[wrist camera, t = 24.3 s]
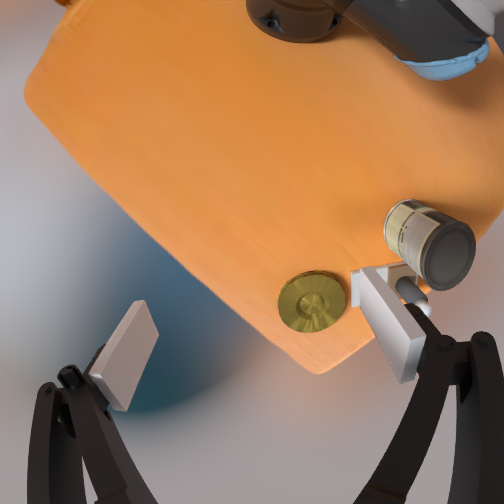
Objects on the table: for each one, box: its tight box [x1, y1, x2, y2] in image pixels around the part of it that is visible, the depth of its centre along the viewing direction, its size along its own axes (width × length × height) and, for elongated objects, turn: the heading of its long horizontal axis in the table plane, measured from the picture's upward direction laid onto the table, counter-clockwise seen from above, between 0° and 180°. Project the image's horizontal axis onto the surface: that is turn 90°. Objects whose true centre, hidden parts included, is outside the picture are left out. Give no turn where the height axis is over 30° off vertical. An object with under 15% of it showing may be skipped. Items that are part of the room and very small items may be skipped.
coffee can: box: [383, 199, 476, 291], centre depth 37 cm, size 10×10×14 cm
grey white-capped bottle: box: [395, 276, 432, 317], centre depth 41 cm, size 3×3×10 cm
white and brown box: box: [351, 261, 418, 307], centre depth 47 cm, size 7×14×2 cm, turn 100°
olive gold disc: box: [278, 270, 346, 333], centre depth 48 cm, size 12×12×2 cm
